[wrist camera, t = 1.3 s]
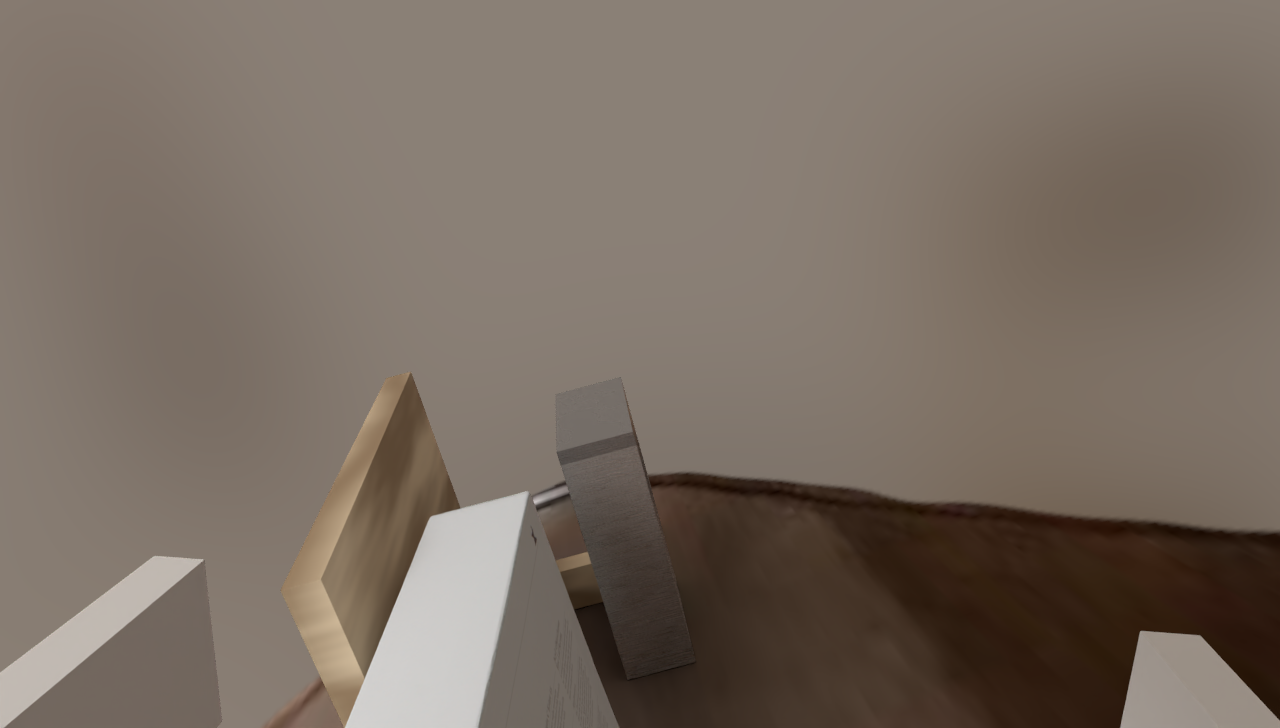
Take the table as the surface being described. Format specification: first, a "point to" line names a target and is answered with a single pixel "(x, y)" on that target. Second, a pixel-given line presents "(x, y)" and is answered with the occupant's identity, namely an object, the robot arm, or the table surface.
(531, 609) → the skincare box
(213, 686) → the robot arm
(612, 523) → the grey carton
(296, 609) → the oak shelf corner
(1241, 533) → the table surface
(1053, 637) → the table surface
